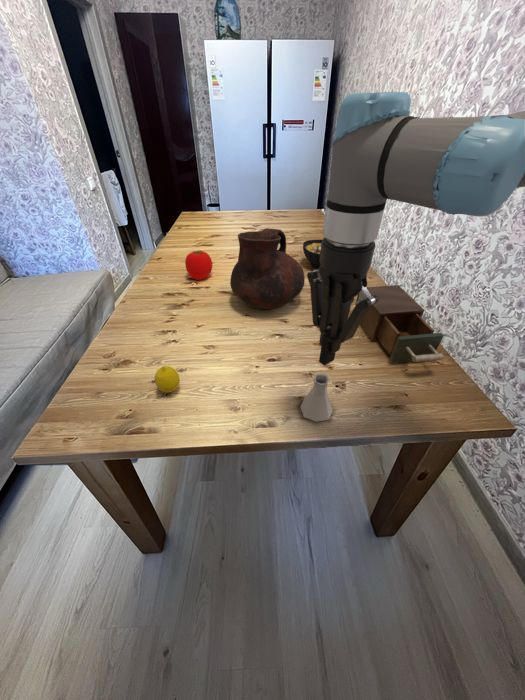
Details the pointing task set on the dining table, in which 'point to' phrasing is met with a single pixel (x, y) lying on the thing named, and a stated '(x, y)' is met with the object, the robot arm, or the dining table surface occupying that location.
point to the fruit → (167, 379)
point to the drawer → (409, 338)
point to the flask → (317, 400)
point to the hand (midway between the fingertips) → (326, 360)
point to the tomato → (198, 264)
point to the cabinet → (387, 307)
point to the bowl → (312, 252)
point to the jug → (265, 270)
